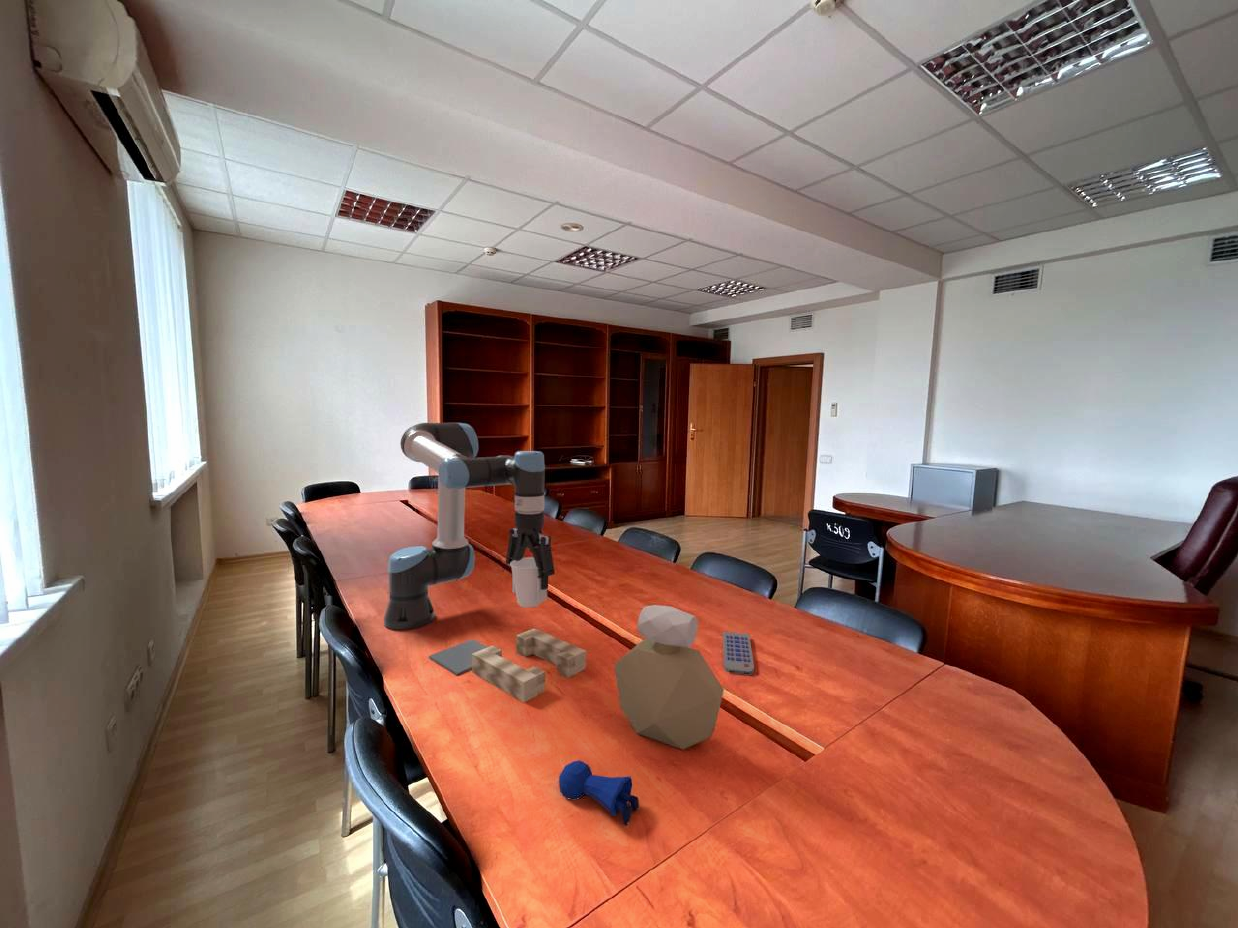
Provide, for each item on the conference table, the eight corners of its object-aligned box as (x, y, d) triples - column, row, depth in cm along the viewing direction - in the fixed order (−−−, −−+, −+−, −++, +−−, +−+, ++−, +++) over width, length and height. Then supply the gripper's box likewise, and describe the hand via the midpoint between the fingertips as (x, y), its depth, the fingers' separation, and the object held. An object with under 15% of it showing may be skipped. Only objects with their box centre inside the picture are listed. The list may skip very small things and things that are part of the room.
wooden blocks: (472, 672, 128) (472, 653, 127) (533, 644, 144) (533, 628, 144) (524, 702, 115) (524, 682, 114) (585, 668, 131) (585, 650, 130)
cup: (540, 612, 122) (540, 570, 121) (503, 608, 124) (503, 566, 123) (553, 598, 132) (554, 558, 130) (519, 595, 134) (519, 555, 132)
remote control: (749, 640, 151) (749, 633, 150) (754, 677, 128) (754, 669, 128) (722, 637, 152) (723, 630, 152) (723, 673, 130) (723, 665, 130)
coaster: (428, 657, 135) (428, 655, 135) (472, 640, 146) (472, 638, 146) (457, 675, 126) (457, 673, 126) (501, 655, 137) (501, 653, 137)
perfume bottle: (710, 771, 93) (715, 630, 91) (602, 730, 105) (604, 604, 102) (728, 735, 104) (733, 608, 101) (628, 702, 115) (630, 587, 113)
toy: (642, 807, 85) (573, 770, 93) (644, 774, 85) (574, 740, 92) (622, 835, 79) (550, 794, 87) (624, 800, 79) (551, 761, 86)
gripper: (491, 507, 129) (492, 589, 132) (547, 519, 116) (546, 611, 118) (514, 504, 135) (514, 582, 137) (570, 515, 121) (569, 602, 123)
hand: (529, 595), depth 128 cm, fingers closed on cup, 9 cm apart
